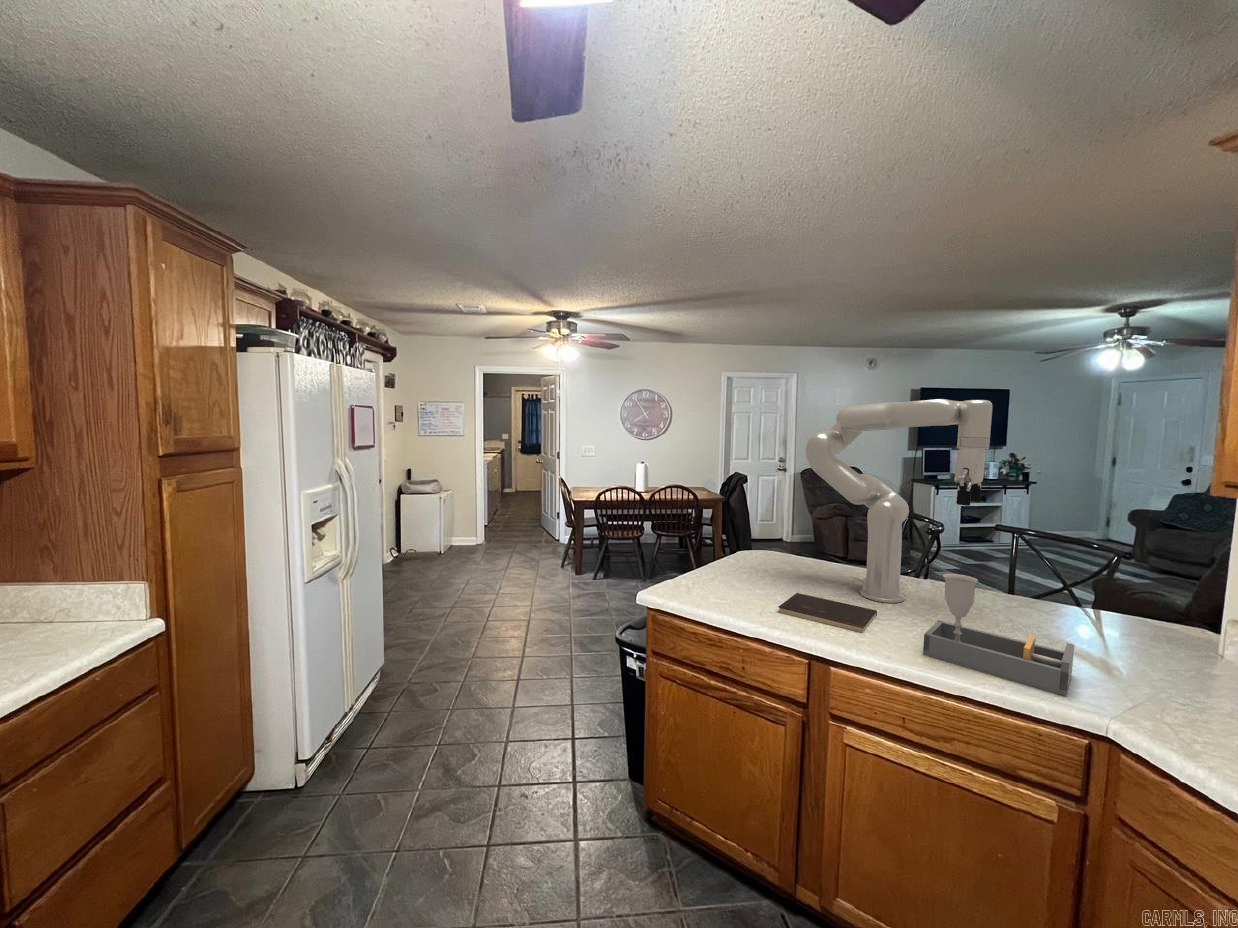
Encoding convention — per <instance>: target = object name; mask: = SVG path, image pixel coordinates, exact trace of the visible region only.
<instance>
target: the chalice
mask: <svg viewBox="0 0 1238 928" xmlns="http://www.w3.org/2000/svg"><path fill="white" fill-rule="evenodd" d="M942 576H943V579H944V581H945V582H944V598H945V601H946V605H947V607H948V608H949V612H950V613H951V615H952V616H953V617H955V622H954V623H953V624H954V625H955V627H956V629H955V631H953V632H954V633H955V641H959V642H961V641H960V635H961V634H962V633H961V631H960V628H961V626H963V625H962V622H961V619H962V618H965V617H966V616H967V614H968V613H969V612H970V610H971V609H972V607H973V605H974V603H975V597H976V596H975V594H976V593H975V591H976V584H977V583H978V582H979V580H978V579H977V578H976V577H972V576H970V575H965V574H958V573H945V574H942Z"/></svg>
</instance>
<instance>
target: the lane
mask: <svg viewBox="0 0 1238 928" xmlns="http://www.w3.org/2000/svg"><path fill="white" fill-rule="evenodd" d="M954 624H955V623H951V622H947V621H943V620H939V619H937V620H936V622H934V624H933V625H932V626H931V627H930V628H929V629H928V630H927V631H926V632H925V633H923V634H924V635H923V647H922V654H923V655H925V656H928V657H930V658H935V659H938V660H941V661H945V662H948V663H951V664H955V665H959V666H961V667H966V668H967V669H972V670H975V671H979V672H981V673H985V674H988V675H989V674H990V675H992V676H995V677H999V678H1003V679H1006V680H1010V681H1011V682H1012V681H1013V682H1016V683H1020V684H1023V685H1027V686H1030V687H1032V688H1036V689H1039V690H1040V689H1041V690H1044V691H1047V692H1049V693H1054V694H1058V695H1061V696H1064V697H1067V696H1068V691H1069V688H1070V683H1071V679H1072V675H1073V664H1074V651H1075V644H1074V643H1073V644H1072V643H1069V642H1067V643H1066V646H1065V648H1064V650H1061V649H1056V648H1053V647H1048V646H1044V645H1040V644H1036V643H1035V649H1034V654H1038V655H1042V656H1045V657H1049V658H1053V659H1057V660H1061V661H1062V662H1061V666H1058V665H1054V664H1050V663H1046V662H1043V661H1039V660H1035V659H1034V661H1030V660H1026V659H1023V652H1024V646H1025V644H1026V642H1027V641H1023V640H1021V639H1015V638H1013V637H1008V636H1003V635H999V634H995V633H991V632H988V631H983V630H980V629H976V628H971V627H967V626H964V625H962V626H961V628H960V631H961V633H962V634H961V635H960V641H961V642H959V641H955V633H954V632H953V631H955V629H956V627H955V625H954Z"/></svg>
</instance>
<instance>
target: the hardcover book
mask: <svg viewBox="0 0 1238 928" xmlns="http://www.w3.org/2000/svg"><path fill="white" fill-rule="evenodd" d="M778 609H779V613H780V614H785V615H789V616H794V617H798V618H801V619H806V620H809V621H813V622H818V623H822V624H826V625H830V626H834V627H839V628H842V629H846V630H849V631H855V632H859V633H864V631H865V630H866V629H867V627H868V626H869V625H870V624H871V622H872V621H873V620H874V619H875V618H876V616H877V615H878V611H877V609H873V608H869V607H864V606H858V605H854V604H849V603H846V602H841V601H837V600H833V599H832V600H831V599H826V598H822V597H818V596H813V595H810V594H809V595H808V594H803V593H800V592H796V593H794V594H793V595H792V596H790V597H789V598H788V599H787V600H785V601H784V602H783V603H781V604H780V605H778Z"/></svg>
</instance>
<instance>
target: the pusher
mask: <svg viewBox="0 0 1238 928" xmlns="http://www.w3.org/2000/svg"><path fill="white" fill-rule="evenodd" d="M1025 642H1026V644H1025V646H1024V652H1023V659H1026V660H1030V661H1034V659H1035V660H1039V661H1043V662H1046V663H1050V664H1054V665H1058V666H1061V662H1062V661H1061V660H1057V659H1053V658H1049V657H1045V656H1042V655H1038V654H1034V649H1035V644H1036V636H1035V635H1031V634H1030V635H1029V636H1028V638H1027V641H1025Z"/></svg>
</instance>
